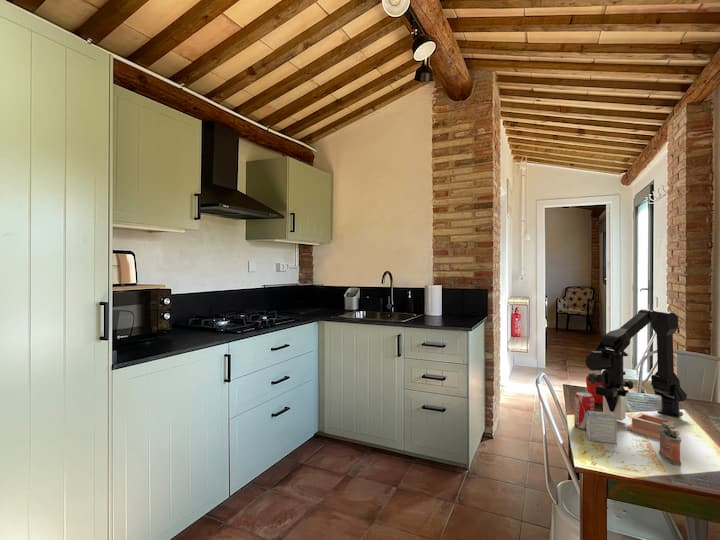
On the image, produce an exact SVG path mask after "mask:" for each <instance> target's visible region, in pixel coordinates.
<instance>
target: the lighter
mask: <svg viewBox="0 0 720 540" xmlns="http://www.w3.org/2000/svg"><path fill="white" fill-rule="evenodd" d="M662 427H664V428H665V429H659V433H660V439H659V450H658V454H659V456H660V457H661V458H662V459H663V460H664V461H665V462H667V463H669V464H671V465H673V466H679V467H680V466H682V461H681V442H682V439H681V438H680V437H679V436H678V435H676V434H677V430H678V429H677V430H675V429H676V428H675V426H674V427H673V426H669V425H668V424H667V423H665V422H663V423H662Z"/></svg>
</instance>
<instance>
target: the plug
mask: <svg viewBox="0 0 720 540" xmlns="http://www.w3.org/2000/svg"><path fill="white" fill-rule="evenodd" d="M626 399H627V398H626V397H625V396H620V398H619V400H618V402H617V405H616V407H615V410H614V412H611V411H610V409H609V406H608V404H607V401H606V398H605V397H604V396H603V405H602V412H606V413H613V415H614V416H615V417H616V419H617V420H616V421H620V422H621V421H624V420H625V419H626V418H627V417H626V415H627V414H626V413H627V412H626V404H627V403H626V402H627V401H626Z"/></svg>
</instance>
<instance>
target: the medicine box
mask: <svg viewBox="0 0 720 540" xmlns="http://www.w3.org/2000/svg"><path fill="white" fill-rule="evenodd" d="M617 421H618V420H617V419H616V417H615V416H614V415H613V413H606V412H603V411H595V410H594V411H587V430H586V436H587V438H588V440H589V441H592V442H601V443H609V444H617V443H618V441H617Z"/></svg>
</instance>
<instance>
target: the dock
mask: <svg viewBox="0 0 720 540" xmlns="http://www.w3.org/2000/svg"><path fill="white" fill-rule="evenodd" d="M663 422H665V423H667V424H668V425H669V426H673V427H674V429H675V430H677V434H676V435H677V436H678V435H679V434H680V430H679V429H677V428H675V420H671V419H667V418H663V417H661V416H660V417H658V416H657V415H656V416H655V415H651V414H647V413H643V412H639V413H637V414H636V415H635V416H632V417H631V423H630V424H628V425H627V430H628V429H629V430H628V431H631V430H632V432H634V433H635V432H636V433H639V434H641V435H646V436H648V437H652V438H657V439H659V440H660V433H659V429H665V428H664V427H662V423H663Z"/></svg>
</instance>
